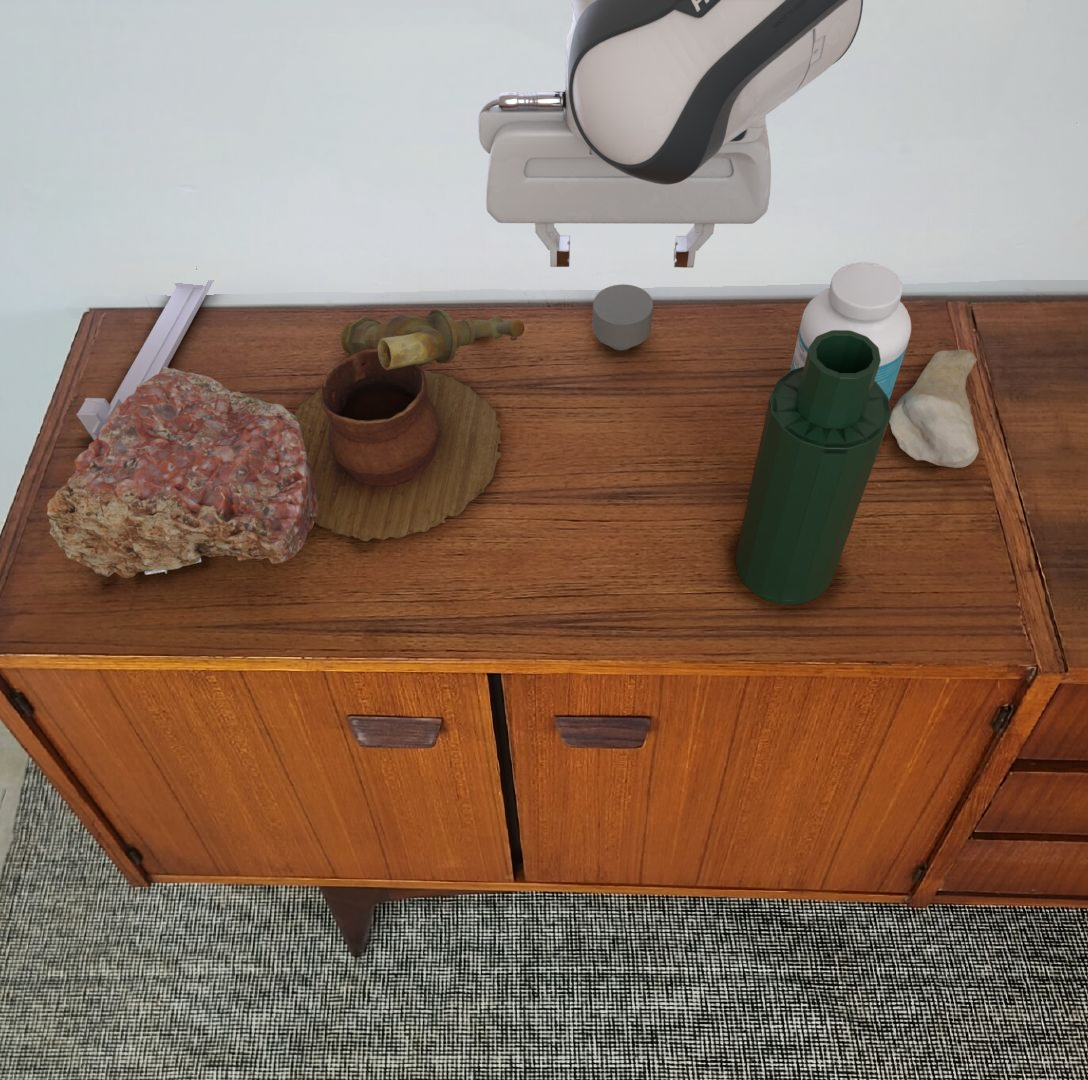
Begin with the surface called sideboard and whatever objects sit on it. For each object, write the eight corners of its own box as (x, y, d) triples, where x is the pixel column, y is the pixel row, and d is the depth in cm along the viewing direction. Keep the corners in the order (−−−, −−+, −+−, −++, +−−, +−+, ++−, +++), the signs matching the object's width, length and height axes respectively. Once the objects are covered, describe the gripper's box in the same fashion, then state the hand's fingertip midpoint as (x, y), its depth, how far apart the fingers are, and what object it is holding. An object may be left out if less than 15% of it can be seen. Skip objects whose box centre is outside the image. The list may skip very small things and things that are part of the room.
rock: (152, 435, 87) (68, 582, 78) (117, 341, 78) (19, 493, 70) (355, 472, 84) (291, 627, 76) (340, 378, 76) (266, 541, 68)
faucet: (294, 321, 86) (448, 300, 94) (302, 374, 88) (453, 348, 96) (388, 324, 75) (553, 300, 83) (395, 384, 76) (557, 355, 84)
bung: (649, 322, 91) (652, 284, 87) (650, 362, 88) (653, 324, 85) (592, 321, 91) (593, 284, 88) (591, 361, 88) (592, 324, 85)
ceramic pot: (227, 471, 84) (202, 408, 78) (375, 339, 91) (361, 272, 85) (404, 579, 77) (391, 518, 71) (548, 427, 84) (546, 360, 78)
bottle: (828, 527, 77) (899, 312, 61) (838, 606, 74) (916, 398, 57) (733, 525, 78) (777, 311, 62) (738, 603, 74) (786, 397, 58)
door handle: (172, 250, 95) (202, 249, 94) (186, 277, 97) (215, 276, 97) (69, 425, 83) (103, 426, 83) (88, 451, 86) (120, 452, 85)
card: (146, 580, 78) (145, 577, 78) (139, 553, 80) (138, 551, 80) (265, 540, 80) (264, 537, 80) (256, 515, 81) (255, 512, 81)
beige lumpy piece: (970, 479, 79) (990, 434, 75) (881, 468, 80) (897, 423, 76) (968, 372, 85) (987, 325, 81) (886, 363, 86) (901, 317, 82)
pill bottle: (884, 400, 84) (932, 258, 73) (870, 469, 80) (919, 331, 69) (788, 381, 86) (821, 240, 75) (770, 448, 82) (802, 310, 71)
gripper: (472, 120, 70) (484, 288, 82) (790, 119, 69) (756, 290, 80) (479, 67, 74) (490, 235, 85) (782, 64, 72) (751, 236, 84)
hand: (621, 262), depth 83 cm, fingers open, 8 cm apart
